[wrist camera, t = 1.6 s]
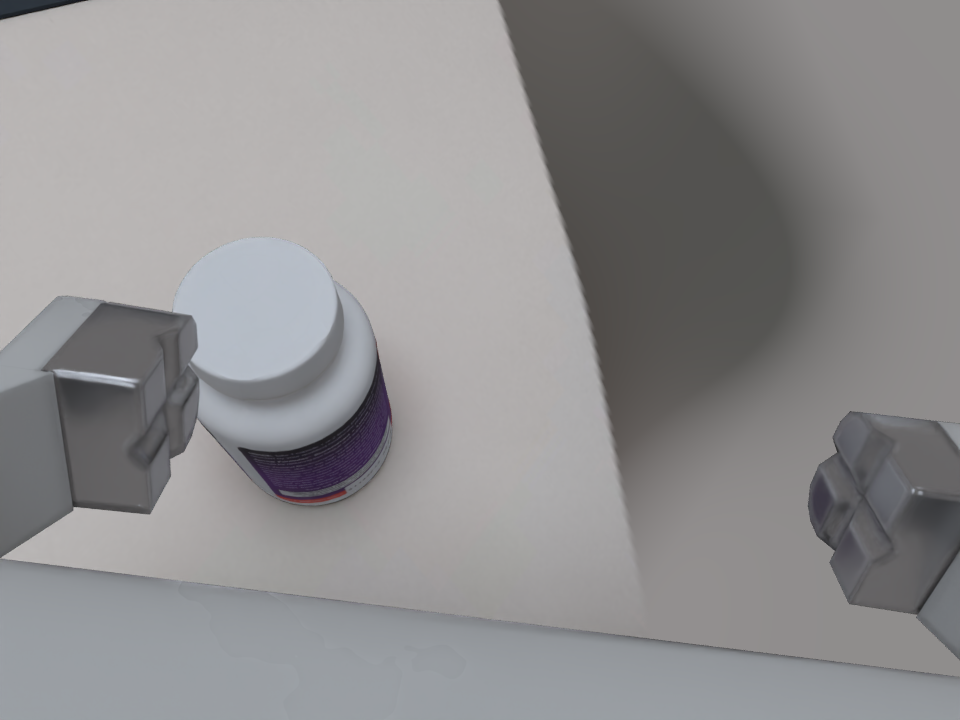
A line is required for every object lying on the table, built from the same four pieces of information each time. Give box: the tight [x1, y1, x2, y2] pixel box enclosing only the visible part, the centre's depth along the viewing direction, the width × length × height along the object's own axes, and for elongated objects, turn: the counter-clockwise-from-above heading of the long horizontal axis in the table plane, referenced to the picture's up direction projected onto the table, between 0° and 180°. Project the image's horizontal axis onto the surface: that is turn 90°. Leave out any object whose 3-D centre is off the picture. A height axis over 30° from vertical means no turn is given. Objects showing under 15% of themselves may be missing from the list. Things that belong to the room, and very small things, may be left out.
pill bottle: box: [172, 237, 392, 505], centre depth 24 cm, size 5×5×10 cm
